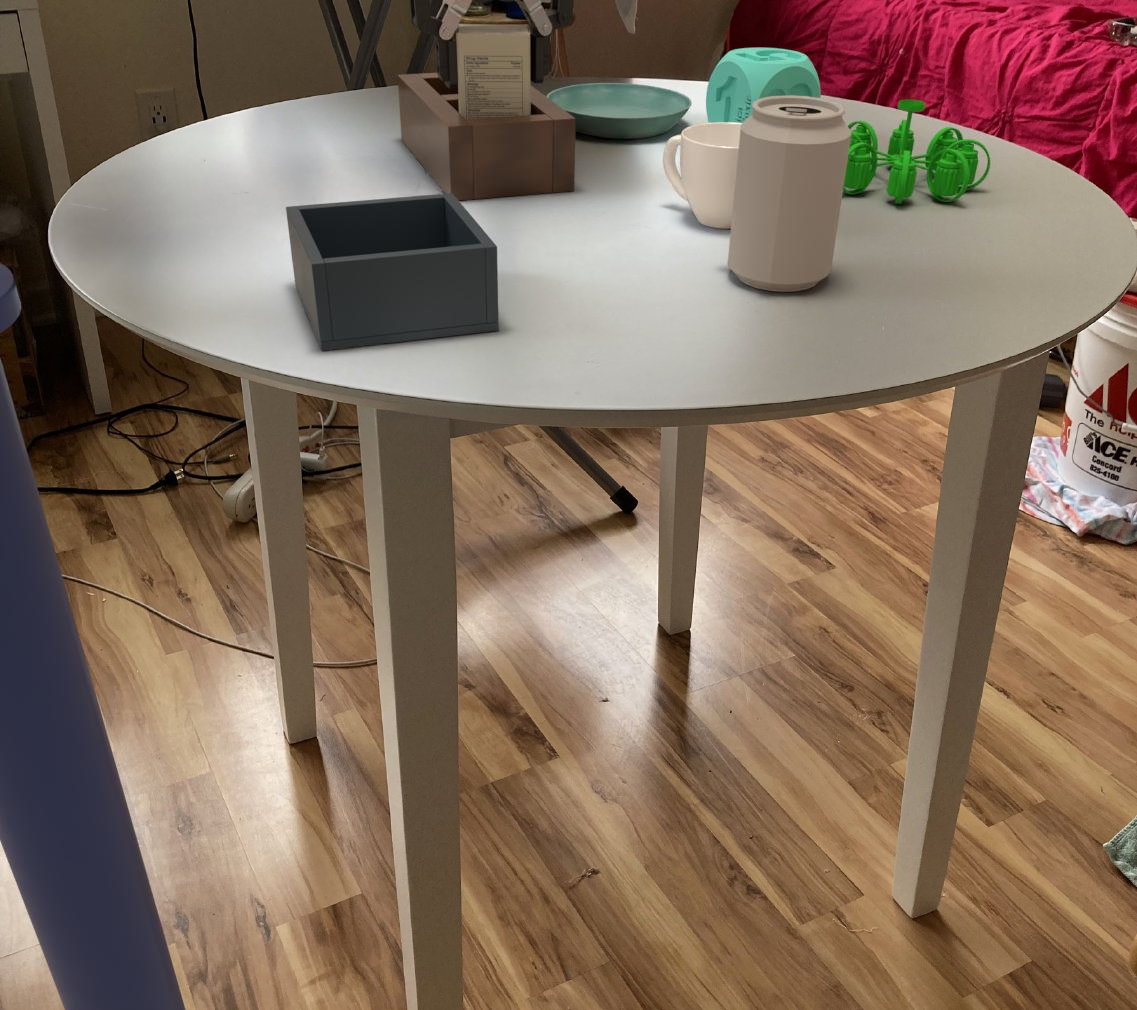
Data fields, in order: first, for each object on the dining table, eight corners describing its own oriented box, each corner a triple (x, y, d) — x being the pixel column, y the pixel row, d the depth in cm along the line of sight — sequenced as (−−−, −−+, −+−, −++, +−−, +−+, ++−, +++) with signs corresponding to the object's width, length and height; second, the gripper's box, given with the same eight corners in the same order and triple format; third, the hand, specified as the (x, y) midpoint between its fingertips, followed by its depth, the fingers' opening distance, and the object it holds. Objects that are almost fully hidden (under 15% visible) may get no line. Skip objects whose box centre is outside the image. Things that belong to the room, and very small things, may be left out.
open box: (321, 351, 74) (311, 264, 71) (295, 286, 83) (285, 206, 80) (498, 330, 77) (497, 246, 74) (455, 270, 86) (452, 192, 83)
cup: (736, 242, 92) (745, 153, 88) (634, 215, 97) (638, 129, 93) (788, 219, 97) (799, 133, 93) (688, 194, 102) (694, 112, 98)
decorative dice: (701, 138, 117) (708, 51, 113) (766, 129, 121) (776, 44, 116) (748, 158, 112) (757, 67, 107) (815, 148, 115) (827, 60, 110)
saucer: (581, 150, 113) (582, 121, 111) (524, 115, 124) (524, 88, 122) (716, 137, 118) (718, 109, 116) (649, 104, 129) (650, 77, 127)
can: (835, 266, 88) (861, 95, 81) (821, 302, 82) (848, 121, 75) (736, 254, 90) (753, 86, 83) (716, 288, 84) (732, 110, 77)
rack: (451, 201, 100) (448, 126, 96) (401, 140, 115) (397, 74, 111) (574, 191, 102) (575, 118, 99) (510, 133, 118) (509, 68, 114)
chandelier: (896, 153, 114) (910, 76, 110) (1020, 194, 104) (1040, 111, 100) (778, 175, 107) (787, 94, 103) (898, 221, 97) (914, 133, 93)
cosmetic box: (529, 171, 107) (533, 23, 100) (531, 185, 104) (534, 33, 96) (458, 169, 107) (456, 20, 100) (457, 183, 103) (455, 30, 96)
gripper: (562, -149, 96) (559, 70, 105) (387, -149, 92) (401, 79, 102) (593, -142, 90) (587, 89, 100) (408, -142, 86) (420, 99, 96)
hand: (493, 83), depth 101 cm, fingers closed on cosmetic box, 7 cm apart
